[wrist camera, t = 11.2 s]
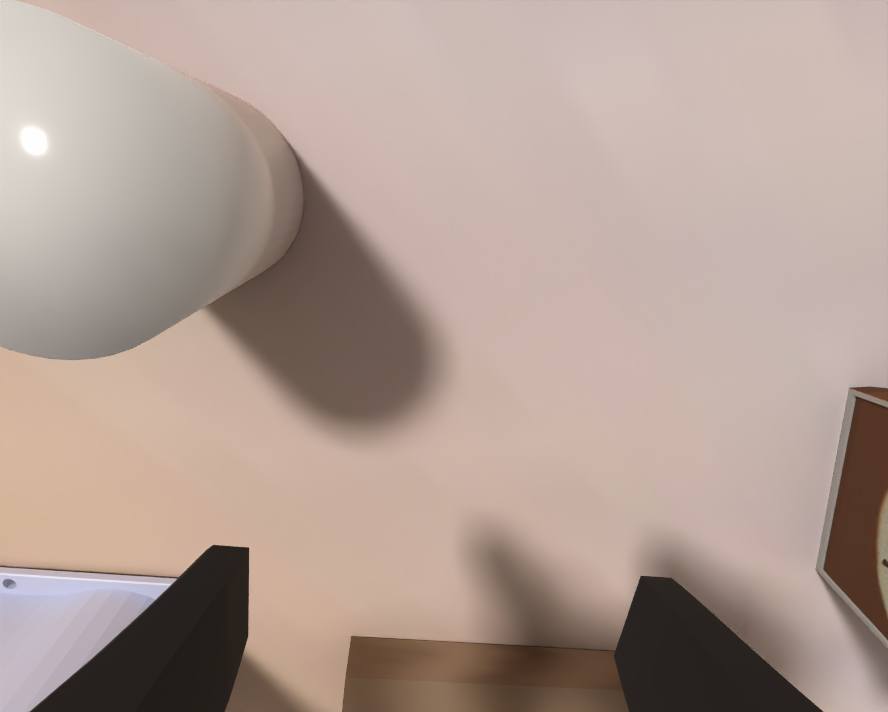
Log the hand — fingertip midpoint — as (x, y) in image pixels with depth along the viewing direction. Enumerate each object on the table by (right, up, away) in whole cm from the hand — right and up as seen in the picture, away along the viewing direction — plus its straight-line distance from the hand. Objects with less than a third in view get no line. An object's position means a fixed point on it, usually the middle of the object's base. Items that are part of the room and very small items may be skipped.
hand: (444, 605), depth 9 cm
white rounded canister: (-8, +10, +7) cm, 14 cm away
